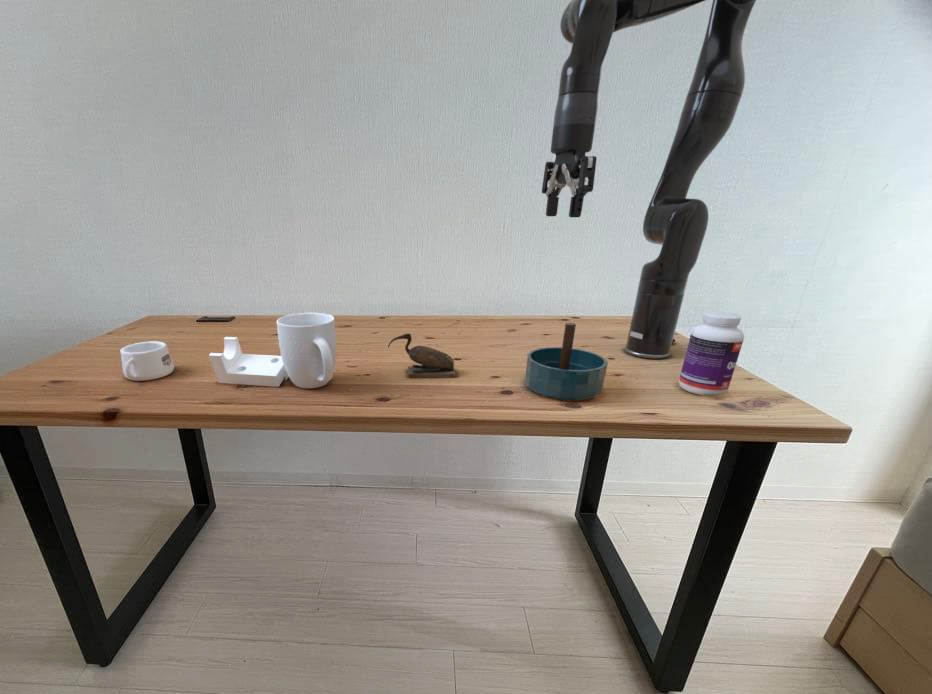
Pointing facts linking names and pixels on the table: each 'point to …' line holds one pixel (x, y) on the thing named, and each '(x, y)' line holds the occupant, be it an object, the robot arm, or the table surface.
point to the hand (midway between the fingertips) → (562, 216)
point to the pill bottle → (712, 354)
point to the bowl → (565, 374)
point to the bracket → (247, 366)
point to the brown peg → (567, 346)
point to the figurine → (428, 361)
